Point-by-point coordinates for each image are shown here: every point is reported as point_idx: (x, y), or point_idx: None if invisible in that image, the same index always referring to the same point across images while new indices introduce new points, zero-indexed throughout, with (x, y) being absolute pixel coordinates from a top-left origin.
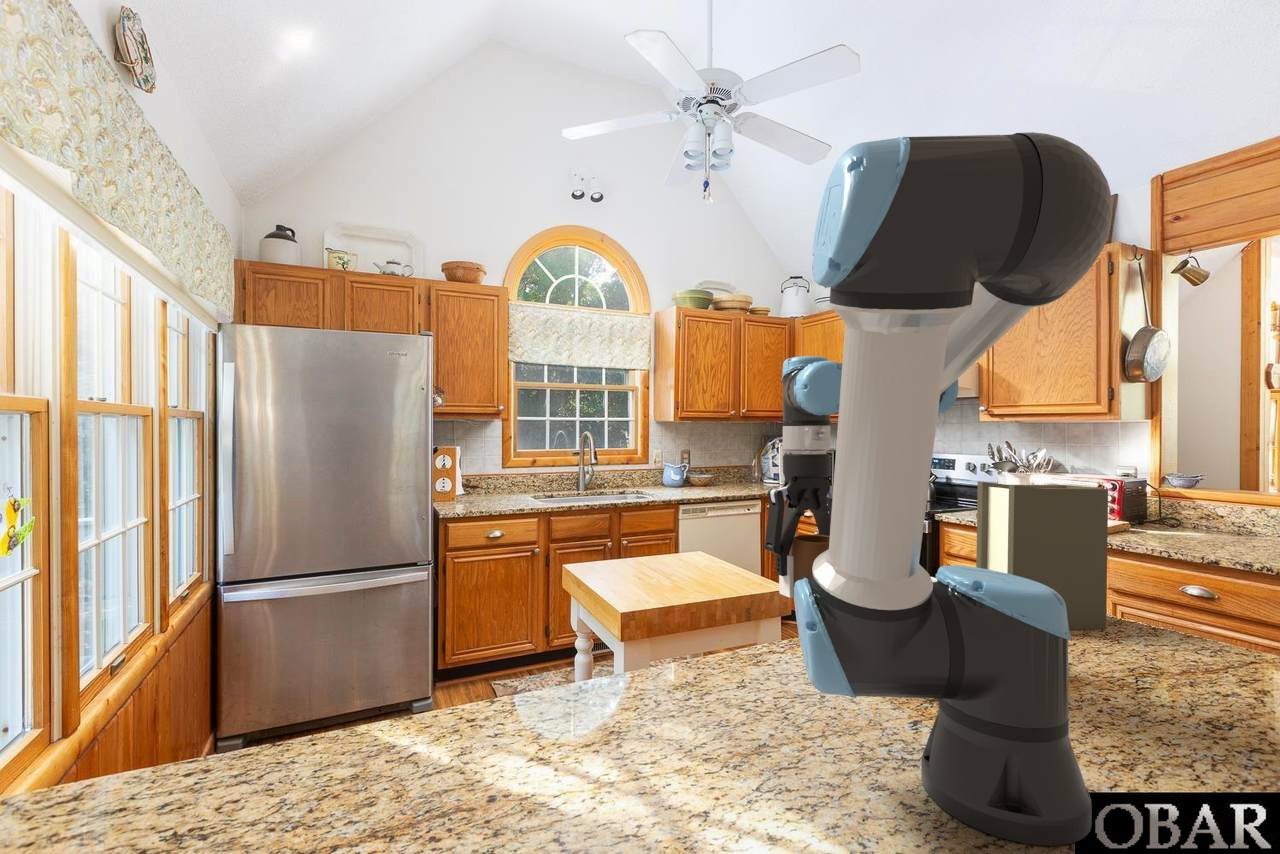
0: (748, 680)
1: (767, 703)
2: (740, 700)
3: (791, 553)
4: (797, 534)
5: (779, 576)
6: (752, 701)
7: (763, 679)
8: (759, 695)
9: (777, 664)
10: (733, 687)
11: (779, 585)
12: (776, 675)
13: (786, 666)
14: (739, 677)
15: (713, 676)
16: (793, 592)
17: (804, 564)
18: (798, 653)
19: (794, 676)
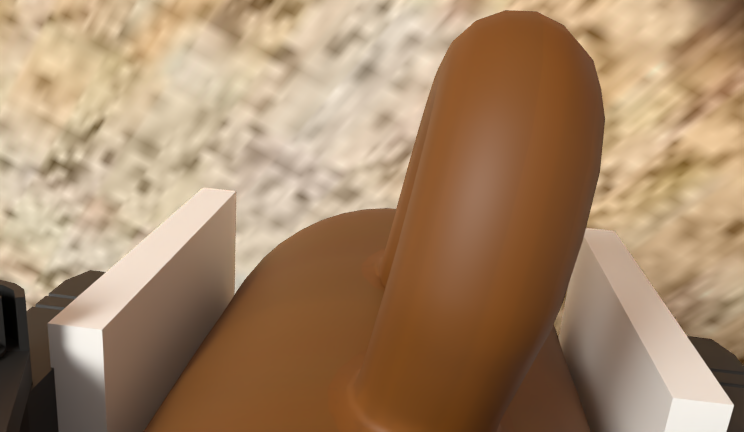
0: (114, 139)
1: None
2: (7, 252)
3: (428, 114)
4: (442, 325)
5: (155, 230)
6: (40, 276)
7: (171, 160)
8: (85, 254)
9: (315, 69)
10: (32, 161)
11: (182, 206)
12: (239, 156)
13: (335, 105)
14: (96, 100)
15: (5, 41)
16: None
17: None
18: (491, 12)
19: (297, 197)
